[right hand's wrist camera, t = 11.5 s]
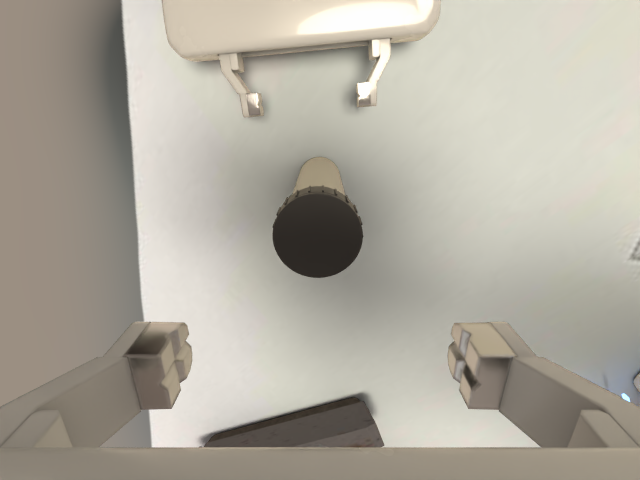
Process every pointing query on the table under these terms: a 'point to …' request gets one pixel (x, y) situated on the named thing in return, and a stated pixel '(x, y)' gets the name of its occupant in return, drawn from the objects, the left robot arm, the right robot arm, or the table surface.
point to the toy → (309, 429)
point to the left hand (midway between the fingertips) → (310, 111)
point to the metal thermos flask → (319, 175)
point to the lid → (317, 232)
